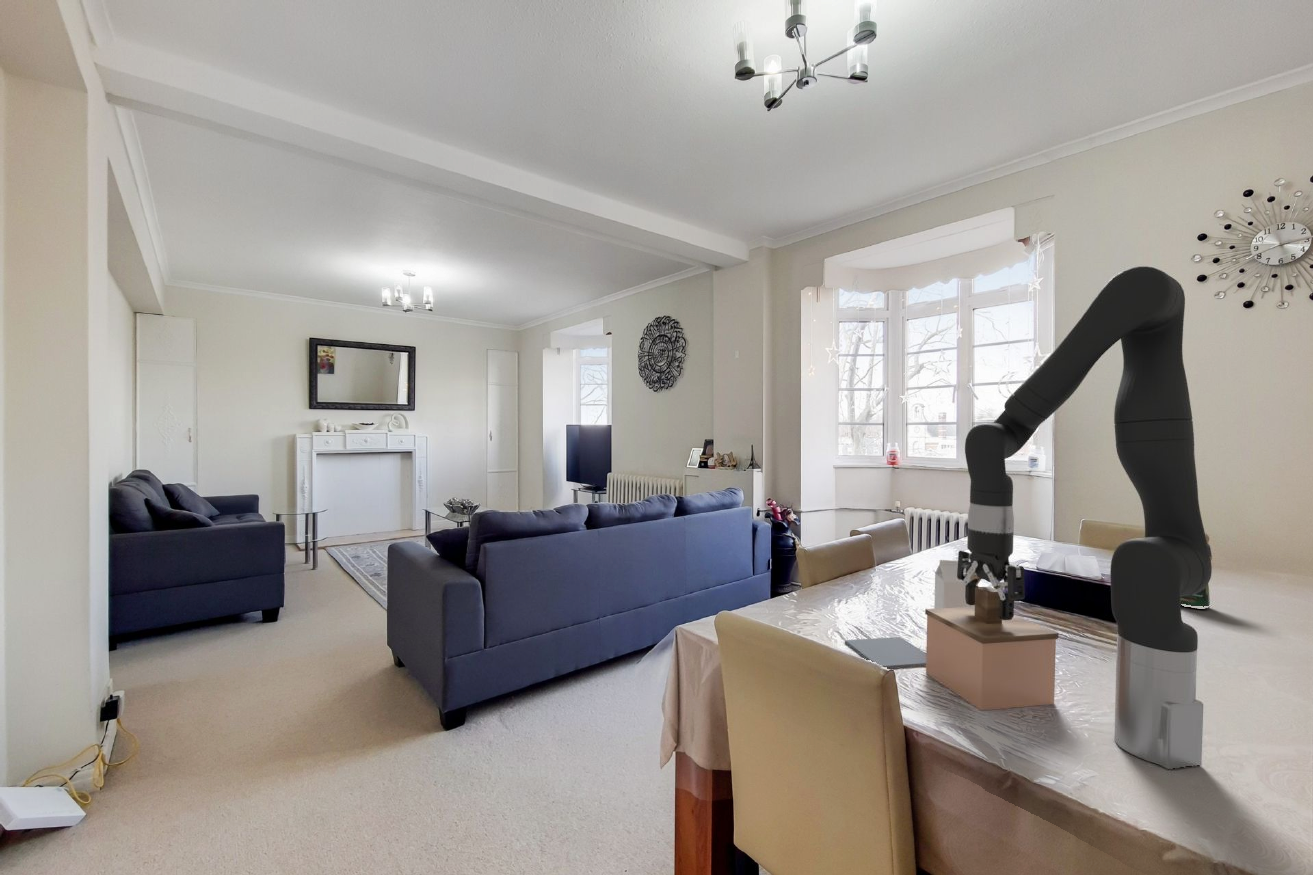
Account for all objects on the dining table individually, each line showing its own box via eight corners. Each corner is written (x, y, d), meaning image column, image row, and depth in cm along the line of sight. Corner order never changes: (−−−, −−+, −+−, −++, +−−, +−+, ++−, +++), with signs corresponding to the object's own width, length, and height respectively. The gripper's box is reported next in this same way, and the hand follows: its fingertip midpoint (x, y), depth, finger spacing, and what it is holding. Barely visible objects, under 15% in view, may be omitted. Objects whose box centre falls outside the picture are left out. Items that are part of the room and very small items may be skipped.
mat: (940, 664, 117) (940, 661, 117) (879, 669, 114) (879, 666, 114) (900, 639, 131) (900, 636, 131) (844, 642, 128) (845, 640, 128)
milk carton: (976, 648, 125) (978, 565, 125) (942, 646, 127) (944, 563, 126) (965, 637, 132) (967, 557, 132) (933, 634, 134) (935, 556, 133)
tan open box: (1054, 703, 101) (1055, 638, 100) (981, 710, 98) (982, 643, 98) (990, 667, 115) (992, 610, 115) (925, 672, 113) (927, 614, 113)
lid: (1058, 638, 100) (1059, 600, 100) (982, 643, 98) (983, 604, 97) (992, 610, 115) (993, 576, 115) (925, 613, 113) (926, 579, 113)
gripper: (1038, 534, 100) (1036, 623, 100) (979, 520, 114) (977, 599, 114) (1002, 535, 98) (999, 626, 99) (947, 521, 112) (945, 600, 113)
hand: (988, 611), depth 106 cm, fingers open, 8 cm apart
